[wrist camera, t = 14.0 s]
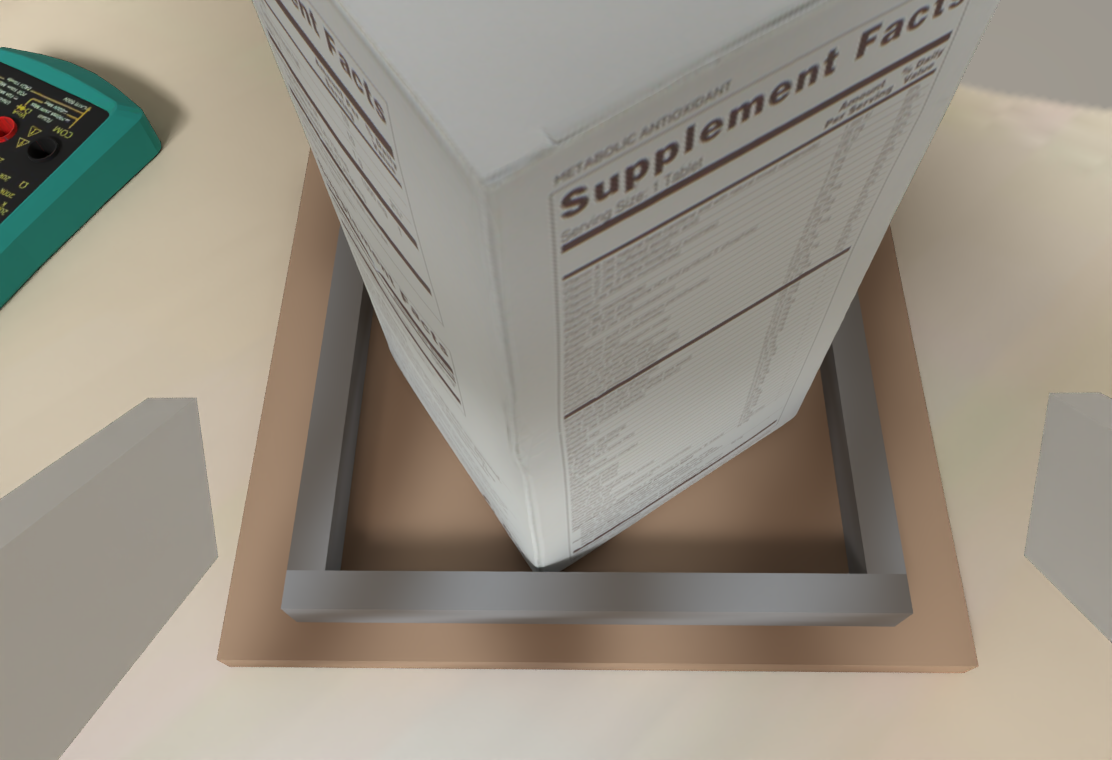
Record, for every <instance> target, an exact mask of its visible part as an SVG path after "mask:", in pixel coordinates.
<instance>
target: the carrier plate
mask: <svg viewBox="0 0 1112 760" xmlns="http://www.w3.org/2000/svg"><path fill="white" fill-rule="evenodd" d="M217 660H218V661H220V662H222V663H224V664H226V665H228V666H229V667H334V668H449V669H564V670H680V671H795V672H910V673H965V672H967V671H969V670H971V669H974V668H976V667H978V661H977V656H976V651H975V646H974V641H973V636H972V631H971V626H970V621H969V616H968V611H967V606H966V601H965V596H964V591H963V586H962V581H961V576H960V571H959V566H958V561H957V556H956V551H955V546H954V541H953V537H952V532H951V527H950V522H949V517H948V512H947V507H946V502H945V497H944V492H943V487H942V482H941V477H940V472H939V467H938V462H937V457H936V452H935V447H934V442H933V437H932V432H931V427H930V422H929V417H928V412H927V407H926V402H925V397H924V392H923V387H922V382H921V377H920V372H919V368H918V363H917V358H916V353H915V348H914V343H913V338H912V333H911V328H910V323H909V318H908V313H907V308H906V303H905V298H904V293H903V288H902V283H901V278H900V273H899V268H898V263H897V258H896V253H895V248H894V243H893V238H892V233H891V228H890V224H889V226H888V228H887V230H886V233H885V235H884V237H883V239H882V241H881V243H880V245H879V247H878V249H877V251H876V253H875V255H874V257H873V259H872V261H871V263H870V266H869V268H868V270H867V271H866V273H865V275H864V278H863V280H862V282H861V284H860V286H859V288H858V290H857V292H856V295H855V297H854V298H853V300H852V302H851V304H850V306H849V309H848V310H847V312H846V314H845V317H844V319H843V321H842V323H841V325H840V327H839V329H838V331H837V333H836V335H835V337H834V339H833V341H832V343H831V345H830V347H829V349H828V351H827V353H826V355H825V357H824V359H823V362H822V364H821V366H820V368H819V370H818V371H817V373H816V376H815V378H814V380H813V382H812V384H811V386H810V388H809V390H808V392H807V394H806V396H805V398H804V400H803V402H802V404H801V406H800V408H799V410H798V412H797V414H796V415H795V417H794V418H792V419H791V420H790V421H788V422H787V423H785V424H784V425H783V426H781V427H780V428H778V429H777V430H775V431H773V432H772V433H770V434H769V435H767V436H766V437H764V438H763V439H761V440H760V441H758V442H757V443H755V444H754V445H752V446H751V447H749V448H747V449H746V450H744V451H743V452H741V453H740V454H738V455H737V456H735V457H734V458H732V459H731V460H729V461H728V462H726V463H725V464H723V465H722V466H720V467H718V468H717V469H715V470H714V471H712V472H711V473H709V474H708V475H706V476H705V477H703V478H702V479H700V480H699V481H697V482H696V483H694V484H693V485H691V486H690V487H688V488H687V489H685V490H683V491H682V492H680V493H679V494H677V495H676V496H674V497H673V498H671V499H670V500H668V501H667V502H665V503H664V504H662V505H661V506H659V507H658V508H656V509H655V510H653V511H652V512H651V513H649V514H648V515H646V516H645V517H643V518H642V519H640V520H639V521H637V522H636V523H634V524H633V525H631V526H630V527H628V528H627V529H625V530H624V531H622V532H621V533H619V534H617V535H616V536H614V537H613V538H611V539H610V540H608V541H607V542H605V543H604V544H602V545H601V546H599V547H597V548H596V549H594V550H593V551H591V552H590V553H588V554H587V555H585V556H584V557H582V558H581V559H579V560H577V561H576V562H574V563H573V564H571V565H570V566H568V567H566V568H565V569H563V570H561V571H560V572H533V571H532V570H531V568H530V567H529V565H528V564H527V562H526V561H525V559H524V558H523V556H522V555H521V553H520V551H519V550H518V548H517V547H516V545H515V544H514V542H513V541H512V539H511V538H510V536H509V535H508V533H507V532H506V530H505V528H504V527H503V525H502V524H501V522H500V521H499V519H498V518H497V516H496V515H495V513H494V512H493V510H492V509H491V507H490V506H489V504H488V503H487V501H486V500H485V498H484V497H483V495H482V494H481V492H480V491H479V489H478V488H477V486H476V485H475V483H474V482H473V480H472V479H471V477H470V476H469V474H468V473H467V471H466V470H465V468H464V467H463V465H462V464H461V462H460V461H459V459H458V458H457V456H456V455H455V453H454V452H453V450H452V449H451V447H450V446H449V444H448V443H447V441H446V440H445V438H444V436H443V435H442V433H441V432H440V430H439V429H438V427H437V426H436V424H435V423H434V421H433V420H432V418H431V417H430V415H429V414H428V412H427V411H426V409H425V408H424V406H423V405H422V403H421V401H420V400H419V398H418V397H417V395H416V394H415V392H414V391H413V389H412V387H411V386H410V384H409V383H408V381H407V380H406V378H405V376H404V375H403V373H402V371H401V370H400V368H399V367H398V365H397V363H396V361H395V360H394V358H393V356H392V354H391V352H390V349H389V346H388V343H387V340H386V338H385V335H384V332H383V330H382V327H381V325H380V322H379V320H378V317H377V315H376V312H375V310H374V307H373V304H372V302H371V299H370V297H369V294H368V291H367V289H366V286H365V284H364V281H363V279H362V276H361V274H360V271H359V269H358V266H357V264H356V261H355V259H354V256H353V254H352V251H351V249H350V246H349V244H348V241H347V239H346V236H345V234H344V231H343V229H342V226H341V224H340V221H339V219H338V216H337V214H336V211H335V209H334V206H333V204H332V201H331V199H330V196H329V194H328V191H327V188H326V186H325V183H324V181H323V178H322V175H321V173H320V170H319V168H318V165H317V162H316V160H315V157H314V155H313V152H312V150H311V147H310V152H309V158H308V163H307V169H306V174H305V180H304V185H303V191H302V196H301V202H300V207H299V213H298V218H297V223H296V229H295V234H294V240H293V245H292V251H291V256H290V262H289V267H288V273H287V278H286V284H285V289H284V294H283V300H282V305H281V311H280V316H279V322H278V327H277V333H276V338H275V344H274V349H273V355H272V360H271V365H270V371H269V376H268V382H267V387H266V393H265V398H264V404H263V409H262V415H261V420H260V426H259V431H258V436H257V442H256V447H255V453H254V458H253V464H252V469H251V475H250V480H249V486H248V491H247V497H246V502H245V507H244V513H243V518H242V524H241V529H240V535H239V540H238V546H237V551H236V557H235V562H234V568H233V573H232V578H231V584H230V589H229V595H228V600H227V606H226V611H225V617H224V622H223V628H222V633H221V639H220V644H219V649H218V655H217Z"/></svg>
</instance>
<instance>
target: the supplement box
mask: <svg viewBox="0 0 1112 760" xmlns="http://www.w3.org/2000/svg"><path fill="white" fill-rule="evenodd" d="M252 2H253V4H254V7H255V9H256V12H257V14H258V17H259V20H260V22H261V25H262V27H263V30H264V32H265V35H266V37H267V40H268V42H269V45H270V47H271V50H272V52H273V55H274V57H275V60H276V62H277V65H278V67H279V70H280V72H281V75H282V77H283V80H284V82H285V85H286V87H287V90H288V92H289V95H290V97H291V100H292V102H293V104H294V107H295V109H296V112H297V114H298V117H299V119H300V122H301V125H302V127H303V130H304V132H305V135H306V138H307V140H308V142H309V145H310V147H311V150H312V152H313V155H314V157H315V160H316V162H317V165H318V168H319V170H320V173H321V175H322V178H323V181H324V183H325V186H326V188H327V191H328V194H329V196H330V199H331V201H332V204H333V206H334V209H335V211H336V214H337V216H338V219H339V221H340V224H341V226H342V229H343V231H344V234H345V236H346V239H347V241H348V244H349V246H350V249H351V251H352V254H353V256H354V259H355V261H356V264H357V266H358V269H359V271H360V274H361V276H362V279H363V281H364V284H365V286H366V289H367V291H368V294H369V297H370V299H371V302H372V304H373V307H374V310H375V312H376V315H377V317H378V320H379V322H380V325H381V327H382V330H383V332H384V335H385V338H386V340H387V343H388V346H389V349H390V352H391V354H392V356H393V358H394V360H395V361H396V363H397V365H398V367H399V368H400V370H401V371H402V373H403V375H404V376H405V378H406V380H407V381H408V383H409V384H410V386H411V387H412V389H413V391H414V392H415V394H416V395H417V397H418V398H419V400H420V401H421V403H422V405H423V406H424V408H425V409H426V411H427V412H428V414H429V415H430V417H431V418H432V420H433V421H434V423H435V424H436V426H437V427H438V429H439V430H440V432H441V433H442V435H443V436H444V438H445V440H446V441H447V443H448V444H449V446H450V447H451V449H452V450H453V452H454V453H455V455H456V456H457V458H458V459H459V461H460V462H461V464H462V465H463V467H464V468H465V470H466V471H467V473H468V474H469V476H470V477H471V479H472V480H473V482H474V483H475V485H476V486H477V488H478V489H479V491H480V492H481V494H482V495H483V497H484V498H485V500H486V501H487V503H488V504H489V506H490V507H491V509H492V510H493V512H494V513H495V515H496V516H497V518H498V519H499V521H500V522H501V524H502V525H503V527H504V528H505V530H506V532H507V533H508V535H509V536H510V538H511V539H512V541H513V542H514V544H515V545H516V547H517V548H518V550H519V551H520V553H521V555H522V556H523V558H524V559H525V561H526V562H527V564H528V565H529V567H530V568H531V570H532V571H533V572H560V571H561V570H563V569H565V568H566V567H568V566H570V565H571V564H573V563H574V562H576V561H577V560H579V559H581V558H582V557H584V556H585V555H587V554H588V553H590V552H591V551H593V550H594V549H596V548H597V547H599V546H601V545H602V544H604V543H605V542H607V541H608V540H610V539H611V538H613V537H614V536H616V535H617V534H619V533H621V532H622V531H624V530H625V529H627V528H628V527H630V526H631V525H633V524H634V523H636V522H637V521H639V520H640V519H642V518H643V517H645V516H646V515H648V514H649V513H651V512H652V511H653V510H655V509H656V508H658V507H659V506H661V505H662V504H664V503H665V502H667V501H668V500H670V499H671V498H673V497H674V496H676V495H677V494H679V493H680V492H682V491H683V490H685V489H687V488H688V487H690V486H691V485H693V484H694V483H696V482H697V481H699V480H700V479H702V478H703V477H705V476H706V475H708V474H709V473H711V472H712V471H714V470H715V469H717V468H718V467H720V466H722V465H723V464H725V463H726V462H728V461H729V460H731V459H732V458H734V457H735V456H737V455H738V454H740V453H741V452H743V451H744V450H746V449H747V448H749V447H751V446H752V445H754V444H755V443H757V442H758V441H760V440H761V439H763V438H764V437H766V436H767V435H769V434H770V433H772V432H773V431H775V430H777V429H778V428H780V427H781V426H783V425H784V424H785V423H787V422H788V421H790V420H791V419H792V418H794V417H795V415H796V414H797V412H798V410H799V408H800V406H801V404H802V402H803V400H804V398H805V396H806V394H807V392H808V390H809V388H810V386H811V384H812V382H813V380H814V378H815V376H816V373H817V371H818V370H819V368H820V366H821V364H822V362H823V359H824V357H825V355H826V353H827V351H828V349H829V347H830V345H831V343H832V341H833V339H834V337H835V335H836V333H837V331H838V329H839V327H840V325H841V323H842V321H843V319H844V317H845V314H846V312H847V310H848V309H849V306H850V304H851V302H852V300H853V298H854V297H855V295H856V292H857V290H858V288H859V286H860V284H861V282H862V280H863V278H864V275H865V273H866V271H867V270H868V268H869V266H870V263H871V261H872V259H873V257H874V255H875V253H876V251H877V249H878V247H879V245H880V243H881V241H882V239H883V237H884V235H885V233H886V230H887V228H888V226H889V224H890V222H891V220H892V218H893V216H894V214H895V212H896V210H897V208H898V206H899V204H900V202H901V200H902V198H903V196H904V194H905V192H906V190H907V188H908V186H909V184H910V182H911V180H912V178H913V176H914V174H915V172H916V170H917V168H918V166H919V164H920V162H921V160H922V158H923V156H924V154H925V152H926V150H927V148H928V146H929V144H930V142H931V140H932V138H933V136H934V134H935V132H936V130H937V128H938V126H939V124H940V122H941V120H942V118H943V116H944V114H945V112H946V110H947V108H948V106H949V104H950V102H951V100H952V98H953V96H954V94H955V92H956V90H957V88H958V85H959V83H960V81H961V79H962V77H963V75H964V73H965V71H966V69H967V67H968V65H969V63H970V61H971V59H972V57H973V55H974V53H975V51H976V49H977V47H978V45H979V43H980V41H981V39H982V37H983V35H984V33H985V31H986V29H987V27H988V24H989V23H990V20H991V18H992V17H993V14H994V12H995V10H996V8H997V6H998V4H999V2H1000V0H252Z"/></svg>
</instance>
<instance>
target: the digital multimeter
mask: <svg viewBox="0 0 1112 760" xmlns="http://www.w3.org/2000/svg"><path fill="white" fill-rule="evenodd" d="M81 98H82V99H81ZM83 99H84V100H83ZM85 100H86V101H85ZM87 101H88V102H87ZM160 149H161V142H160V140H159V138H158V137H157V135H156V133H155V131H154V130H153V128H152V126H151V124H150V123H149V121H148V119H147V118H146V116H145V114H144V112H143V111H142V109H141V108H139V107H138V106H137V105H136V104H135V103H134V102H132V101H131V100H130V99H129V98H128V97H127V96H125V95H124V94H123V93H122V92H121V91H119V90H118V89H117V88H116V87H114V86H113V85H111V84H110V83H108V82H107V81H105V80H104V79H102V78H101V77H99V76H98V75H96V74H95V73H93V72H91V71H88V70H86V69H84V68H82V67H79V66H77V65H75V64H73V63H71V62H68V61H64V60H60V59H57V58H53V57H49V56H46V55H42V54H37V53H32V52H27V51H22V50H17V49H11V48H6V47H1V48H0V308H1V307H2V306H3V305H4V304H5V303H6V302H7V301H8V300H9V299H10V298H11V297H12V296H13V295H14V294H15V293H16V292H17V291H18V290H19V288H20V287H21V286H22V285H23V284H24V283H25V282H26V281H27V280H28V279H29V278H30V277H31V276H32V275H33V274H34V273H35V272H36V271H37V270H38V269H39V268H40V267H41V266H42V265H43V264H44V263H45V262H46V261H47V260H48V259H49V258H50V257H51V256H52V255H53V254H54V253H55V252H56V251H57V250H58V249H59V248H60V247H61V246H62V245H63V244H64V243H65V242H66V241H67V240H68V239H69V238H70V237H71V236H72V235H73V234H74V233H75V232H76V231H78V230H79V229H80V228H81V227H82V226H83V225H84V224H85V223H86V222H87V221H88V220H89V219H90V218H91V217H92V216H93V215H94V214H95V213H96V212H97V211H98V210H99V209H100V208H101V207H102V206H103V205H104V204H105V203H106V202H107V201H108V200H109V199H110V198H111V197H112V196H113V195H114V194H115V193H116V192H117V191H118V190H120V189H121V188H122V187H123V186H124V185H125V184H126V183H127V182H128V181H129V180H130V179H131V178H133V177H134V176H135V175H136V174H137V173H138V172H139V171H140V170H141V169H142V168H143V167H144V166H145V165H147V164H148V163H149V162H150V161H151V160H152V159H153V158H154V157H155V156H156V155H157V154H158V153H159V151H160Z"/></svg>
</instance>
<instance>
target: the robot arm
mask: <svg viewBox="0 0 1112 760" xmlns="http://www.w3.org/2000/svg"><path fill="white" fill-rule="evenodd" d="M1024 556H1025V557H1026V558H1027V559H1028V560H1029V561H1030V562H1031V563H1032V564H1033V565H1034V566H1035V567H1036V568H1037V569H1038V570H1039V571H1040V572H1041V573H1042V574H1043V575H1044V576H1045V577H1046V578H1047V579H1048V580H1049V581H1050V582H1051V583H1052V584H1053V585H1054V586H1055V587H1056V588H1057V589H1058V590H1059V591H1060V592H1061V593H1062V594H1063V595H1064V596H1065V597H1066V598H1067V599H1068V600H1069V601H1070V602H1071V603H1072V604H1073V605H1074V606H1075V607H1076V608H1077V609H1078V610H1079V611H1080V612H1081V613H1082V614H1083V615H1084V616H1085V617H1086V618H1087V619H1088V620H1089V621H1090V622H1091V623H1092V624H1093V625H1094V626H1095V627H1096V628H1097V629H1098V630H1099V631H1100V632H1101V633H1102V634H1103V635H1104V636H1105V637H1106V638H1107V639H1108V640H1109V641H1110V642H1111V643H1112V399H1111V398H1109V397H1108V396H1106V395H1104V394H1102V393H1049V399H1048V405H1047V412H1046V418H1045V425H1044V431H1043V437H1042V444H1041V450H1040V457H1039V463H1038V469H1037V476H1036V482H1035V489H1034V495H1033V501H1032V508H1031V514H1030V521H1029V527H1028V533H1027V540H1026V546H1025V553H1024ZM217 558H218V552H217V545H216V537H215V530H214V523H213V515H212V508H211V501H210V493H209V486H208V479H207V471H206V464H205V457H204V449H203V442H202V435H201V427H200V420H199V413H198V405H197V398H147V399H146V400H144V401H143V402H141V403H140V404H138V405H137V406H135V407H134V408H133V409H131V410H130V411H128V412H127V413H125V414H124V415H122V416H121V417H119V418H118V419H116V420H115V421H114V422H112V423H111V424H109V425H108V426H106V427H105V428H103V429H102V430H100V431H99V432H98V433H96V434H95V435H93V436H92V437H90V438H89V439H87V440H86V441H84V442H83V443H81V444H80V445H79V446H77V447H76V448H74V449H73V450H71V451H70V452H68V453H67V454H65V455H64V456H62V457H61V458H60V459H58V460H57V461H55V462H54V463H52V464H51V465H49V466H48V467H46V468H45V469H43V470H42V471H41V472H39V473H38V474H36V475H35V476H33V477H32V478H30V479H29V480H27V481H26V482H25V483H23V484H22V485H20V486H19V487H17V488H16V489H14V490H13V491H11V492H10V493H8V494H7V495H6V496H4V497H3V498H1V499H0V760H58V759H59V758H60V757H61V755H62V754H63V753H64V752H65V750H66V749H67V748H68V747H69V745H70V744H71V743H72V742H73V740H74V739H75V738H76V736H77V735H78V734H79V733H80V731H81V730H82V729H83V728H84V726H85V725H86V724H87V723H88V721H89V720H90V719H91V717H92V716H93V715H94V714H95V712H96V711H97V710H98V709H99V707H100V706H101V705H102V704H103V702H104V701H105V700H106V698H107V697H108V696H109V695H110V693H111V692H112V691H113V690H114V688H115V687H116V686H117V684H118V683H119V682H120V681H121V679H122V678H123V677H124V676H125V674H126V673H127V672H128V671H129V669H130V668H131V667H132V665H133V664H134V663H135V662H136V660H137V659H138V658H139V657H140V655H141V654H142V653H143V652H144V650H145V649H146V648H147V646H148V645H149V644H150V643H151V641H152V640H153V639H154V638H155V636H156V635H157V634H158V633H159V631H160V630H161V629H162V627H163V626H164V625H165V624H166V622H167V621H168V620H169V619H170V617H171V616H172V615H173V614H174V612H175V611H176V610H177V608H178V607H179V606H180V605H181V603H182V602H183V601H184V600H185V598H186V597H187V596H188V595H189V593H190V592H191V591H192V589H193V588H194V587H195V586H196V584H197V583H198V582H199V581H200V579H201V578H202V577H203V575H204V574H205V573H206V572H207V570H208V569H209V568H210V567H211V565H212V564H213V563H214V562H215V560H216V559H217Z"/></svg>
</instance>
